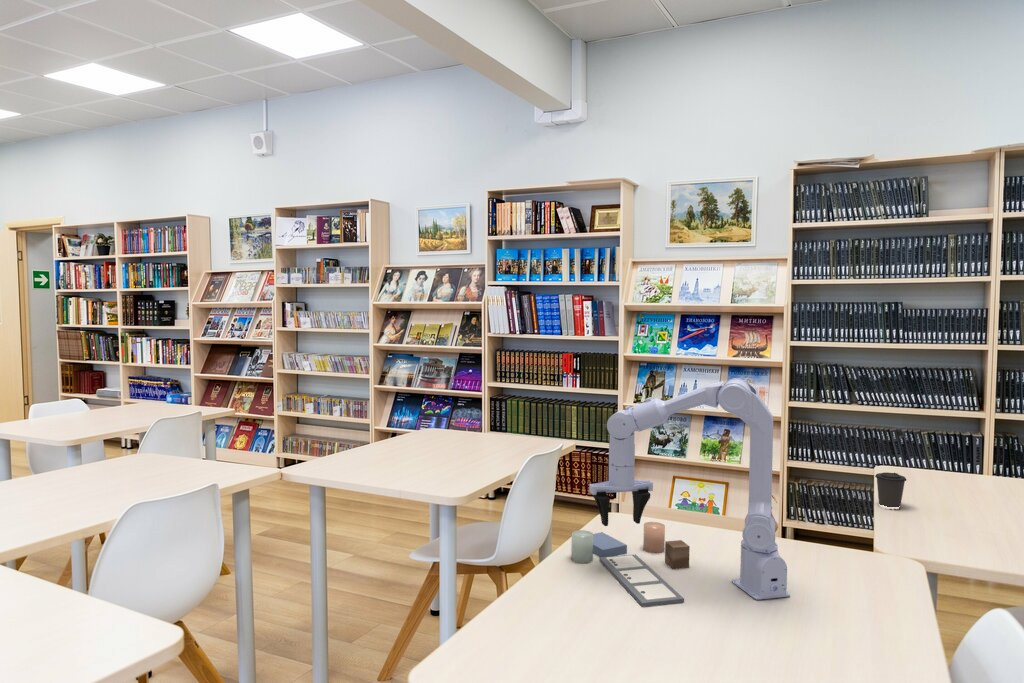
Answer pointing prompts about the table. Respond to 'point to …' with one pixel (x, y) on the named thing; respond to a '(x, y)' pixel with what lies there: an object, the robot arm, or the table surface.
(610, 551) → the slate blue flat block
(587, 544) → the sage dome-ended cylinder
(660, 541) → the peach dome-topped cylinder
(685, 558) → the block
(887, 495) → the coffee cup
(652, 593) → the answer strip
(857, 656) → the table surface
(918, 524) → the table surface
